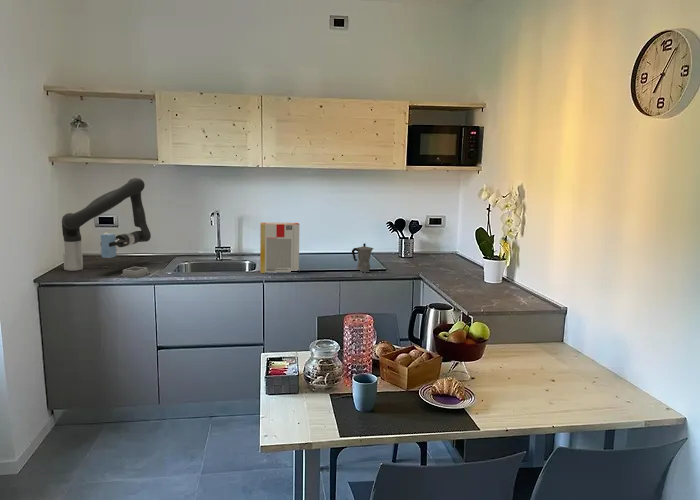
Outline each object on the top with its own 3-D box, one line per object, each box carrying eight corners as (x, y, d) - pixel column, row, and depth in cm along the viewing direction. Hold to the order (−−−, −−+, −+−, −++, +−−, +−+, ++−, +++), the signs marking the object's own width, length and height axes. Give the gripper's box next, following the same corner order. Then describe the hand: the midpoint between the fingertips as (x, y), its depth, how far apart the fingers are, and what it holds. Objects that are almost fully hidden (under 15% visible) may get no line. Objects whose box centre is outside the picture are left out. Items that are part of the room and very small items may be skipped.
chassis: (120, 276, 307) (120, 270, 306) (133, 272, 318) (133, 266, 318) (137, 278, 304) (137, 271, 304) (150, 273, 316) (149, 267, 315)
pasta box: (297, 270, 337) (298, 222, 331) (298, 273, 329) (299, 224, 323) (260, 270, 333) (260, 222, 327) (260, 273, 325) (260, 224, 319)
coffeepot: (368, 269, 346) (369, 241, 343) (376, 272, 338) (377, 244, 335) (347, 271, 339) (348, 243, 335) (355, 274, 330) (355, 245, 327)
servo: (99, 257, 306) (98, 233, 304) (110, 254, 315) (109, 231, 312) (107, 258, 305) (106, 233, 303) (118, 255, 314) (116, 231, 311)
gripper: (114, 233, 323) (94, 237, 307) (135, 234, 320) (115, 238, 304) (114, 245, 325) (94, 250, 308) (135, 247, 321) (116, 252, 305)
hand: (105, 244), depth 306 cm, fingers closed on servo, 5 cm apart
